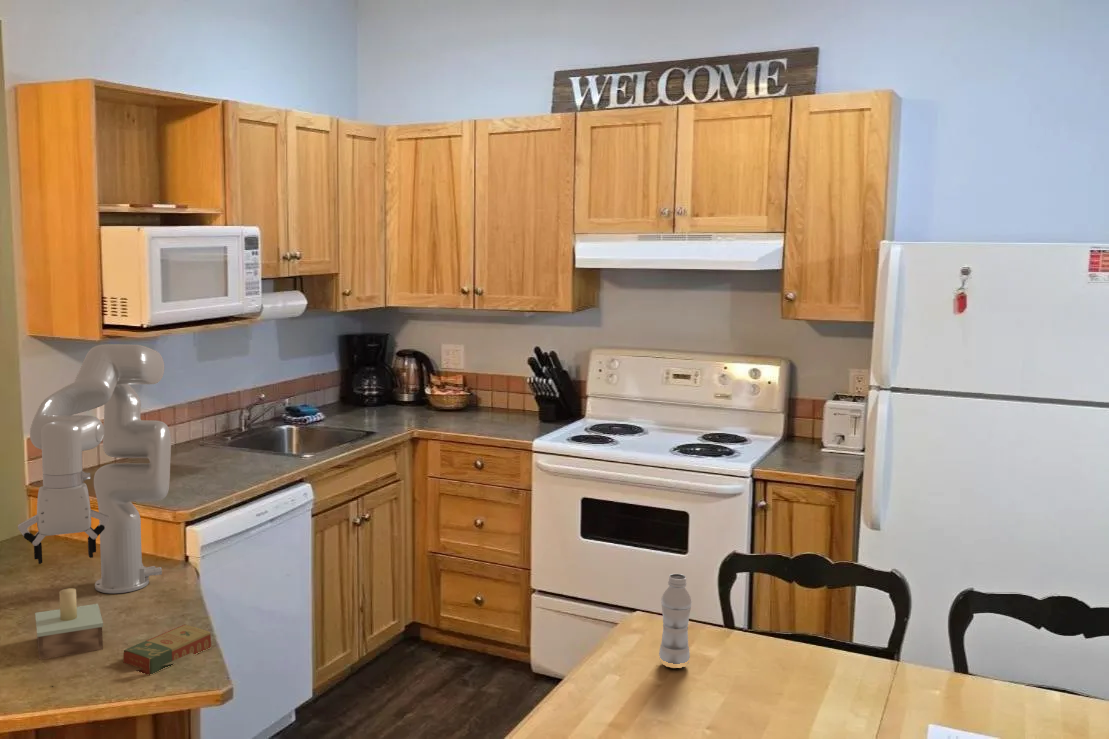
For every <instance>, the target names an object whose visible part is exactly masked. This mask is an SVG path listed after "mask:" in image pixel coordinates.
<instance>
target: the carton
mask: <svg viewBox="0 0 1109 739" xmlns="http://www.w3.org/2000/svg"><path fill="white" fill-rule="evenodd" d="M210 647H211V648H212V638H211V632H210V631H208V630H205V629H202V628H199V627H195V626H192V625H189V624H182V625H180V626H177V627H174V628H172V629H171V630H168V631H165V632H164V633H161V634H159V635H156V636H154V637H151V638H150V639H147V640H145V641H142V642H140V643H139V642H138V644H134V645H132V646H129V647H128V648H125V649H123V656H122V658H123V660H122V662H123V663H124V664H128V665H131V666H133V667H136V668H140V669H137V670H136V672H138V671H139V672H138V673H141V672H142V673H141V674H144V673H145V674H144V675H147V674H149V675H148V676H151V675H150V674H153V673H155V672H157V671H159V670H161V669H163V668H165V667H168V666H170V667H172V666H171V665H173V664H174V663H170V662H174V661H176V660H178V659H180V658H183V657H185V656H188V655H189V654H191V653H192V655H193V654H196V653H198V652H201V651H203V650H206V649H208V648H210ZM208 650H209V649H208ZM206 651H207V650H206ZM173 666H174V665H173ZM168 668H169V667H168ZM159 672H160V671H159ZM157 673H158V672H157ZM155 674H156V673H155ZM153 675H154V674H153Z"/></svg>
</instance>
